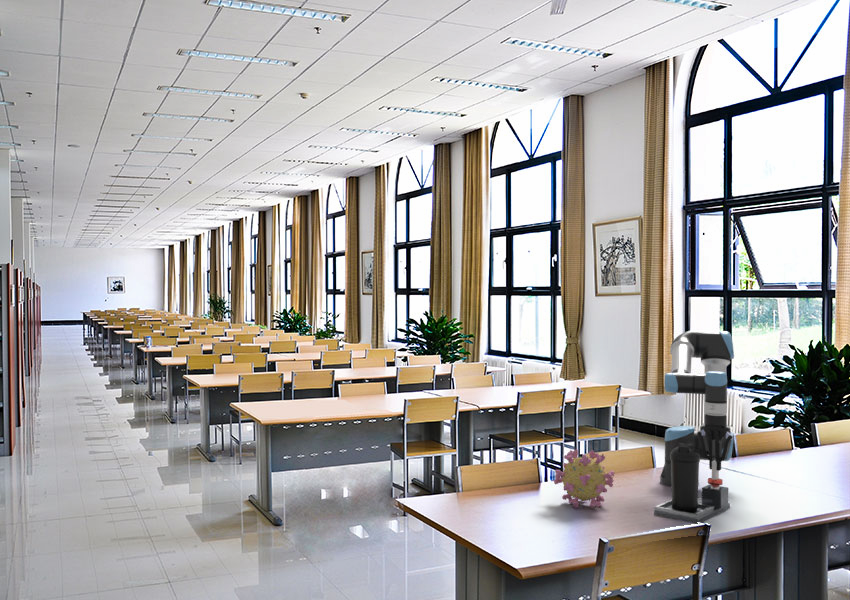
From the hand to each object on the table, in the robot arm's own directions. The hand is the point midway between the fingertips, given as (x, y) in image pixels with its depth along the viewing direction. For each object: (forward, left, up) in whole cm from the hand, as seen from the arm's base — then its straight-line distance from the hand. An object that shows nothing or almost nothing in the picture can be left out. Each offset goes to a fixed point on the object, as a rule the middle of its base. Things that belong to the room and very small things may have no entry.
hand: (715, 478), depth 278 cm
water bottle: (-5, -15, -9) cm, 18 cm away
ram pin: (0, 0, -8) cm, 8 cm away
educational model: (-37, -30, -11) cm, 48 cm away
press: (-5, -9, -11) cm, 15 cm away
